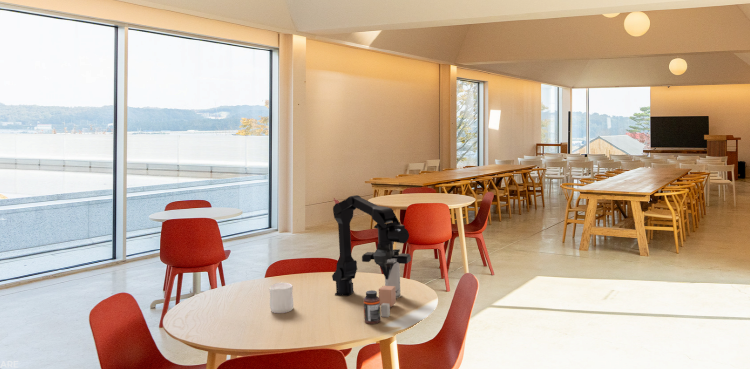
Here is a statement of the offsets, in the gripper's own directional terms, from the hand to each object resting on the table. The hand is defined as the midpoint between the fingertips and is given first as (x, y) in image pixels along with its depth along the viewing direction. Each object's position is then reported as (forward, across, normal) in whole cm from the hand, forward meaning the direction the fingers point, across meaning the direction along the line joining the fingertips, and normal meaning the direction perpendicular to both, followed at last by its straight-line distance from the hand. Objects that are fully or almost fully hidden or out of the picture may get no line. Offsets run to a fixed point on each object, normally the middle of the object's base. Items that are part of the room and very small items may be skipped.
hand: (387, 279), depth 229 cm
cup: (+11, -40, -14) cm, 44 cm away
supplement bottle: (+11, 0, -18) cm, 21 cm away
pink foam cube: (+10, 0, 0) cm, 10 cm away
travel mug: (+11, -2, +13) cm, 17 cm away
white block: (+11, +3, -11) cm, 16 cm away
